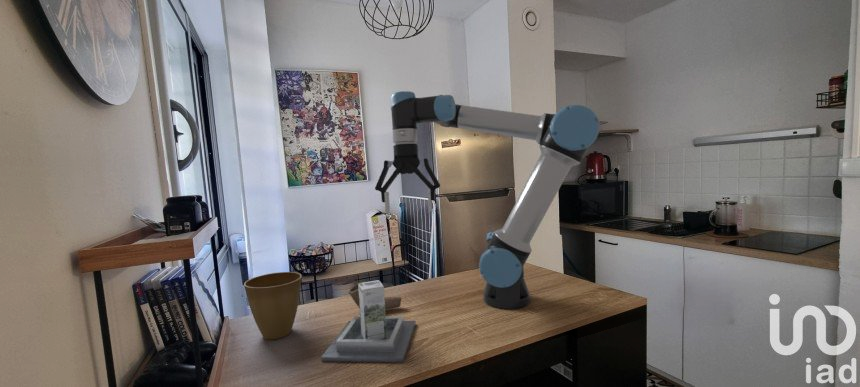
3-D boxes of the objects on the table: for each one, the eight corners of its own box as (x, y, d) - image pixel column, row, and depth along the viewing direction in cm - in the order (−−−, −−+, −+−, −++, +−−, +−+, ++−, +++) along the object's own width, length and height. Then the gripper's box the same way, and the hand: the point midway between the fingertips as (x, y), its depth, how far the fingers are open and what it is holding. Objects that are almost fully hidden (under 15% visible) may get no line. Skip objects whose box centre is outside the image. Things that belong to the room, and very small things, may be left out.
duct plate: (415, 324, 102) (415, 312, 102) (403, 362, 82) (402, 348, 82) (349, 324, 104) (348, 312, 104) (321, 361, 84) (320, 347, 84)
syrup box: (381, 330, 97) (378, 278, 96) (387, 339, 92) (384, 285, 90) (360, 334, 95) (357, 282, 94) (365, 344, 89) (362, 289, 88)
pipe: (403, 312, 111) (401, 281, 110) (349, 319, 107) (347, 287, 107) (400, 304, 117) (399, 275, 116) (350, 311, 114) (348, 281, 113)
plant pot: (299, 342, 94) (295, 284, 93) (240, 349, 92) (235, 290, 91) (309, 319, 109) (306, 269, 107) (259, 325, 106) (254, 273, 105)
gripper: (362, 145, 106) (366, 214, 107) (444, 140, 103) (447, 212, 105) (369, 146, 113) (373, 211, 115) (446, 142, 110) (449, 209, 112)
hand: (408, 212), depth 110 cm, fingers open, 13 cm apart
